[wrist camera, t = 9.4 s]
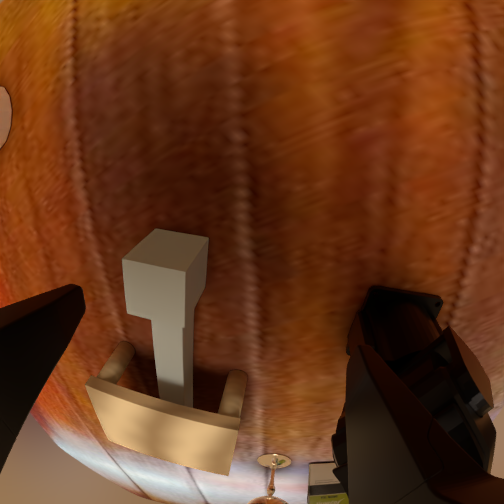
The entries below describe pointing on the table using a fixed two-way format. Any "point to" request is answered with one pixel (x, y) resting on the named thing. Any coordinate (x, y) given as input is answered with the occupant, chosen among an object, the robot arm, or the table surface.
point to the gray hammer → (168, 303)
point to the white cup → (4, 115)
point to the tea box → (325, 485)
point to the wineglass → (273, 462)
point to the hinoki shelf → (167, 419)
